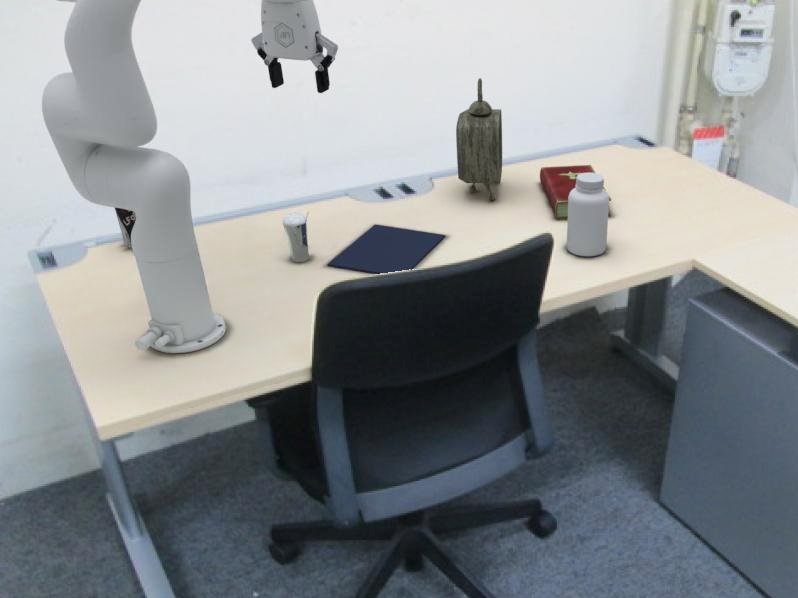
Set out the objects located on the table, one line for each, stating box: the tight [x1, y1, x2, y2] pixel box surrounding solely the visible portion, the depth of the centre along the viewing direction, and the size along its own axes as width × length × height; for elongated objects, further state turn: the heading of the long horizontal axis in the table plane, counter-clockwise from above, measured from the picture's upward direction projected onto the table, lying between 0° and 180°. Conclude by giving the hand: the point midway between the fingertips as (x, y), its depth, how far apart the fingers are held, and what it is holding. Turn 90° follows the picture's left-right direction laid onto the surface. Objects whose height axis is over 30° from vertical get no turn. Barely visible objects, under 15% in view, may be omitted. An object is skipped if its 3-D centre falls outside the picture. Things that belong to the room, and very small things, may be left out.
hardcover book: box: [539, 164, 612, 221], centre depth 201 cm, size 12×21×4 cm, turn 9°
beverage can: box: [114, 207, 136, 249], centre depth 177 cm, size 6×6×12 cm
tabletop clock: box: [455, 77, 503, 202], centre depth 198 cm, size 14×9×25 cm, turn 179°
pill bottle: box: [566, 172, 610, 257], centre depth 176 cm, size 8×8×15 cm
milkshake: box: [281, 211, 310, 263], centre depth 173 cm, size 4×5×10 cm
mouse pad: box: [326, 224, 446, 275], centre depth 179 cm, size 20×16×1 cm
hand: (300, 88), depth 169 cm, fingers open, 9 cm apart
